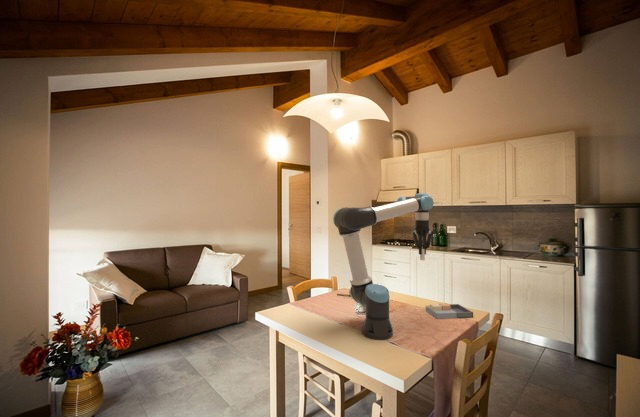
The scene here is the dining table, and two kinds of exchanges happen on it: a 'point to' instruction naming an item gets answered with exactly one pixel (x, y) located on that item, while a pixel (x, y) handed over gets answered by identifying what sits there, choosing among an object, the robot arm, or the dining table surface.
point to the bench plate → (442, 313)
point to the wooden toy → (346, 294)
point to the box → (461, 311)
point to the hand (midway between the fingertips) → (422, 259)
